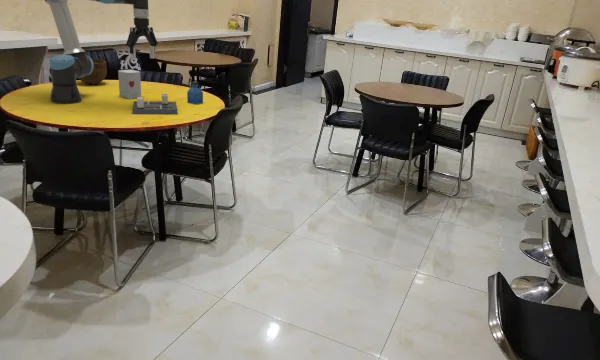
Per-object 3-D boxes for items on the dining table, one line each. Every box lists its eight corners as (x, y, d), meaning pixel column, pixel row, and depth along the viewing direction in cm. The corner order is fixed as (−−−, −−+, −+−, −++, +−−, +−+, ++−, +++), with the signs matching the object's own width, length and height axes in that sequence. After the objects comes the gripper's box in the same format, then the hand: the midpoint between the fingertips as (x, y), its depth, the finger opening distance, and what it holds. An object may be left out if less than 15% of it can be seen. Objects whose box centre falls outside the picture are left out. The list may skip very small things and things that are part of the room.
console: (132, 113, 232) (132, 109, 231) (134, 105, 248) (133, 100, 247) (177, 114, 238) (177, 109, 237) (176, 105, 255) (175, 101, 254)
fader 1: (137, 107, 233) (136, 98, 231) (137, 105, 237) (137, 96, 236) (143, 107, 234) (143, 98, 232) (144, 105, 238) (143, 96, 237)
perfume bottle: (195, 104, 261) (195, 83, 257) (187, 102, 264) (187, 81, 260) (202, 103, 266) (202, 82, 262) (195, 101, 269) (194, 80, 265)
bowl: (101, 87, 285) (99, 63, 279) (70, 85, 284) (68, 61, 279) (113, 82, 302) (111, 59, 297) (84, 80, 302) (82, 57, 296)
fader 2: (161, 103, 245) (161, 95, 244) (161, 101, 250) (161, 93, 248) (167, 103, 246) (167, 95, 244) (167, 101, 250) (167, 93, 249)
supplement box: (128, 99, 262) (126, 72, 256) (119, 96, 267) (117, 70, 261) (142, 97, 269) (140, 71, 263) (132, 94, 273) (131, 69, 268)
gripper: (128, 18, 226) (130, 61, 234) (163, 18, 247) (164, 58, 255) (117, 16, 229) (119, 59, 237) (153, 17, 250) (154, 56, 258)
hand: (143, 59), depth 246 cm, fingers open, 13 cm apart
